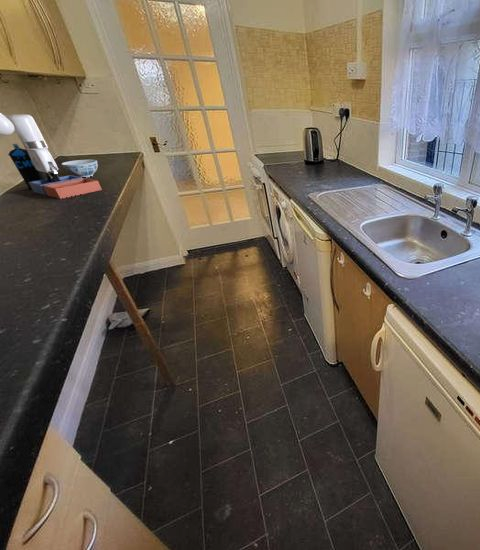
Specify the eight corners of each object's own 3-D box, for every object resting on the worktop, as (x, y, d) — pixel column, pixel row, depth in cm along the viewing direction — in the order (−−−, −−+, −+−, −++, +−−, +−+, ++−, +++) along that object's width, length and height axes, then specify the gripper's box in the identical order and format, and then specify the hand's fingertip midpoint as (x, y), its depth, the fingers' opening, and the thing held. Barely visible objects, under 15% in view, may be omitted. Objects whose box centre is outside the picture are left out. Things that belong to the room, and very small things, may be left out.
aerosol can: (28, 187, 147) (3, 143, 137) (50, 184, 152) (27, 142, 141) (28, 190, 142) (1, 145, 132) (51, 187, 147) (27, 144, 136)
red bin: (60, 199, 132) (55, 188, 129) (48, 195, 136) (42, 185, 133) (102, 190, 145) (97, 180, 142) (89, 187, 148) (85, 178, 146)
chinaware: (70, 175, 168) (63, 161, 164) (103, 172, 176) (97, 158, 172) (67, 181, 158) (59, 166, 154) (102, 177, 166) (96, 162, 162)
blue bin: (45, 195, 136) (39, 185, 134) (33, 192, 140) (28, 182, 138) (87, 186, 149) (82, 177, 147) (75, 184, 153) (70, 175, 151)
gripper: (15, 145, 133) (39, 185, 143) (33, 147, 128) (56, 190, 137) (37, 142, 139) (58, 182, 149) (55, 145, 134) (75, 186, 143)
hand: (57, 185), depth 143 cm, fingers closed
